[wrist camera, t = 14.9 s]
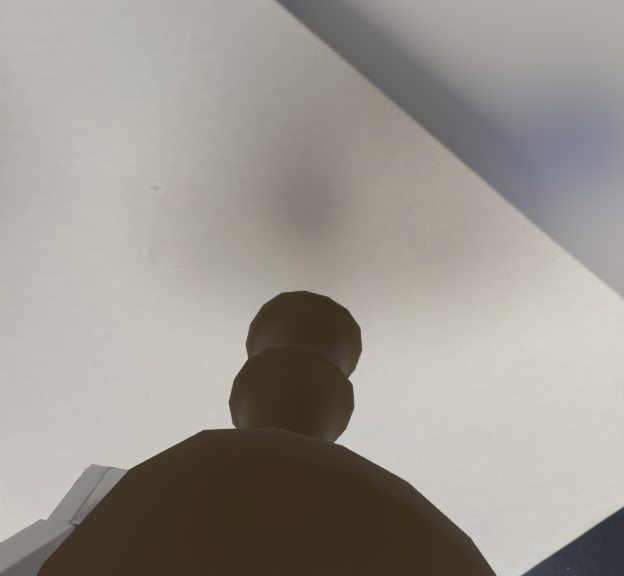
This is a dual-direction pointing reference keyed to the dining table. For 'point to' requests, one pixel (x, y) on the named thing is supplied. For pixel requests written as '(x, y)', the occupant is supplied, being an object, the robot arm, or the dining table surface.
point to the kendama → (272, 479)
